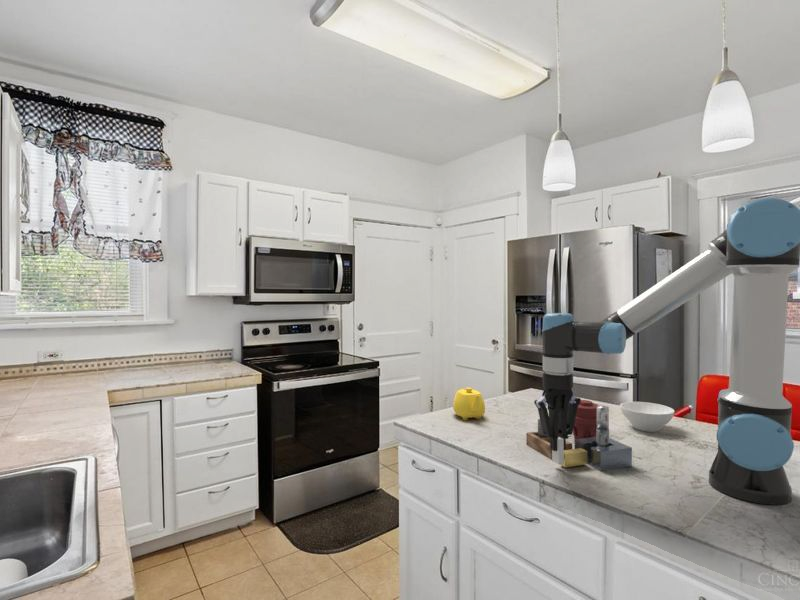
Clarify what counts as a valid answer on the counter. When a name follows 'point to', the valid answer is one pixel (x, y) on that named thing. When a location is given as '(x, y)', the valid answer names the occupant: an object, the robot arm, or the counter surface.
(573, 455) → the bar
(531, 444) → the frame
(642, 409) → the bowl
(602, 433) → the grey cylindrical peg
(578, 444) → the socket block
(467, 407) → the teapot
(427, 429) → the counter surface
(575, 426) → the mechanical component
